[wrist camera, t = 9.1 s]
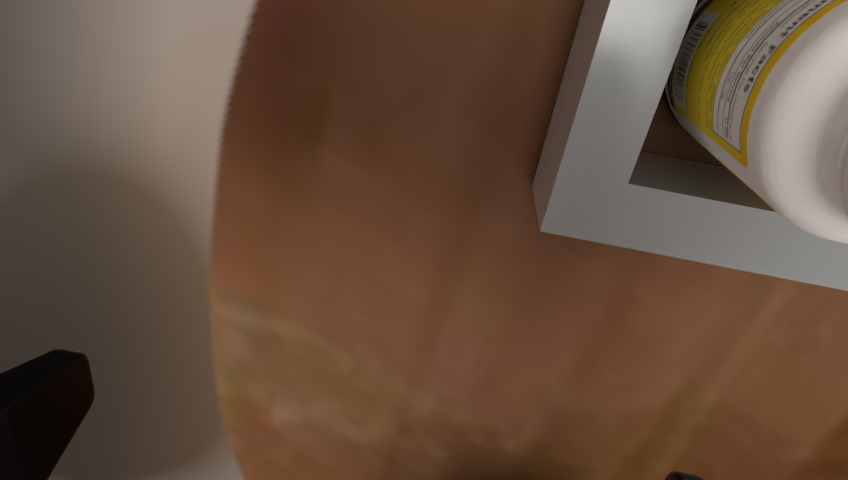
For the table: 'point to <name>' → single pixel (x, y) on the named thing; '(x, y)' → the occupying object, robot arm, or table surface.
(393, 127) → the table surface
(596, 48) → the well
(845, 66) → the supplement bottle
